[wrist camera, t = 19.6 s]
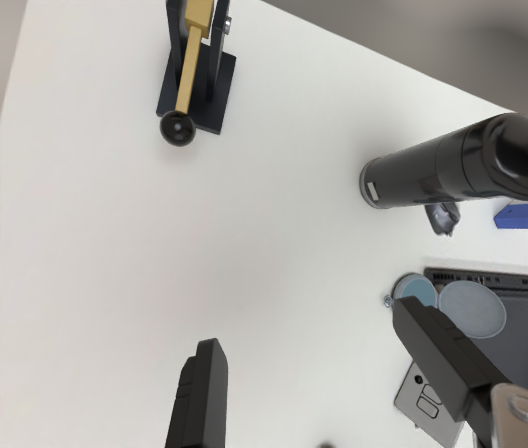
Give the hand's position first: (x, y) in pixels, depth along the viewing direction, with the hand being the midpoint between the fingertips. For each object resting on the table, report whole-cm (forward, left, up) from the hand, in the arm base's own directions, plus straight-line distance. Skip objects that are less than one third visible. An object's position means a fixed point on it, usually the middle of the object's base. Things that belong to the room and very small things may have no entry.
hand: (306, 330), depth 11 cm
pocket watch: (-27, +26, -27) cm, 46 cm away
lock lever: (-5, -21, -17) cm, 27 cm away
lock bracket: (-8, -24, -27) cm, 37 cm away
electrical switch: (-19, +41, -27) cm, 53 cm away
